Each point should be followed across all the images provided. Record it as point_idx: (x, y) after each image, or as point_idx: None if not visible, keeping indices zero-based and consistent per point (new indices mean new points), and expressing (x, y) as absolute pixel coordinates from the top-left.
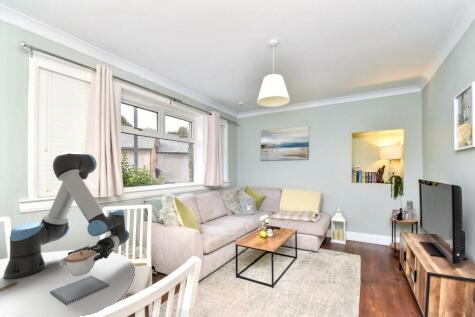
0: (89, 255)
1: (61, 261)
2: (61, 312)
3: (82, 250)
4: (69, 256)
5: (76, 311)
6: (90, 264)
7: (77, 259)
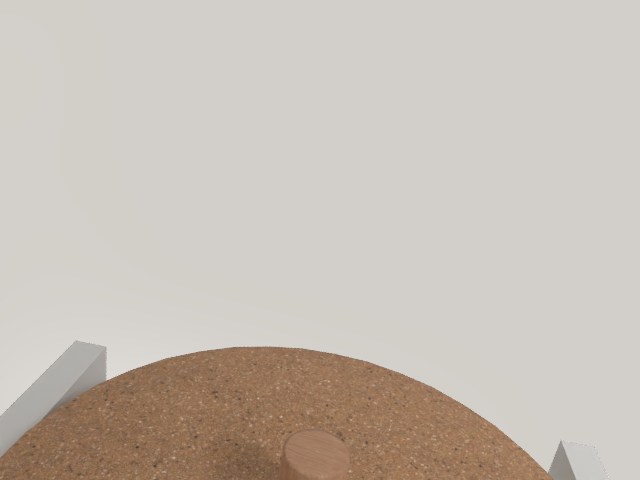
0: (78, 422)
1: (556, 472)
2: None
3: (305, 469)
4: (502, 470)
5: None
6: None
7: (251, 348)
